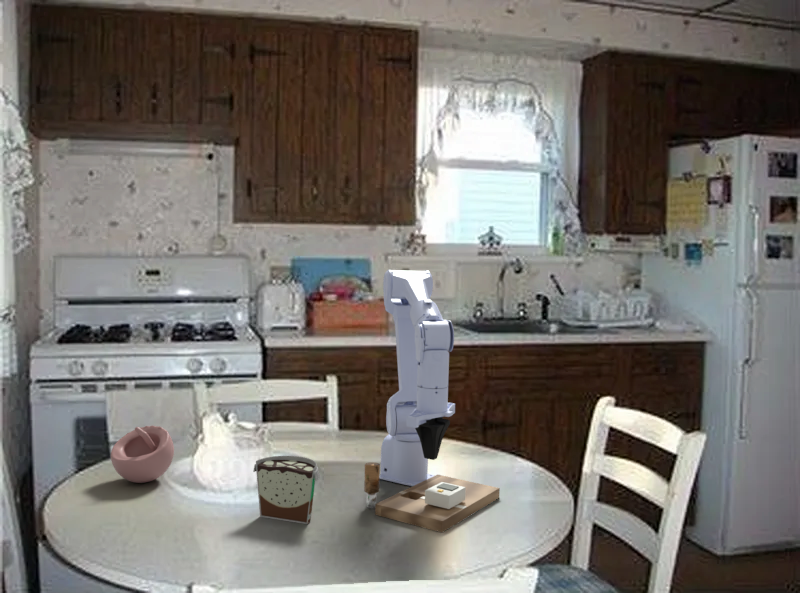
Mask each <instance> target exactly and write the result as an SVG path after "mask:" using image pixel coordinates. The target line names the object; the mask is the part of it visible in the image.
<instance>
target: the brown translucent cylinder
mask: <svg viewBox="0 0 800 593" xmlns="http://www.w3.org/2000/svg"><path fill="white" fill-rule="evenodd" d="M380 474H381V463H378V462H373V461H372V462H366V463H364V479H363V480H364V481H363V482H364V483H363V484H364V485H363V489H364V490H363V492H364V493H366V508H367V509H375V504H376V503H377V494H378V493H379V492H380V480H381V479H380Z"/></svg>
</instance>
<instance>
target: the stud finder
mask: <svg viewBox="0 0 800 593" xmlns="http://www.w3.org/2000/svg"><path fill="white" fill-rule="evenodd" d="M465 490H466V487H462V486H458V485H454V484H449V483H445V482H441V483H439V484H437V485H435V486H433V487H431V488H429V489H427V490H425V503H426V504H430V505H434V506H438V507H442V508H446V509H450V508H452V507H454V506H455V505H457V504H459V503H461V502H462V501H464V500H465Z"/></svg>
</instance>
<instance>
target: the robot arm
mask: <svg viewBox="0 0 800 593" xmlns="http://www.w3.org/2000/svg"><path fill="white" fill-rule="evenodd" d="M382 281H383V282H382V285H383V288H382V289H383V303H384V304H383V305H384V307H385V309H384V310H385V311H386V312H387V313H389V314H390V315H392V318H393V319H392V320H393V322H394V329H395V344H396V345H395V346H396V359H397V360H396V362H397V375H398V391H397V392H395V393H394V394H392V396H390V397H389V398H388V401H387V403H386V417H385V420H386V421H385V423H386V431H387V433H388V434H387V435H386V436H385V437H384V439H383V441H382V444H381V447H380V480H384V481H388V482H391V483H392V482H393V483H396V484H400V485H405V486H408V487H412V486H414V485H416V484H419V483H421V482H423V481H425V480H427V479H429V478H431V477H433V476H435V475H436V474H435V475H434V474H429V473H428V470H429V469H428V467H429V465H428V464H429V460H433V461H435V460H436V459H438V456H439V452H440V449H441V445H442V443H443V438H444V436H445V433H446V431H447V430H448V429H449V426H450V425H451V420H450V419H447V418H449V417H452V416H453V415H454V414H456V403H453V402H448V401H449V399H448V398H449V374H450V373H449V372H450V370H449V369H450V366H449V365H450V352H451V353H452V351H453V349H454V346H455V345H454V344H455V330H454V325H453V322H452V321H451V320H449V319H444V317H443V315H442V313H441V311H440V309H439V307H438V305H437V303H436V302H435V301H433V300H432V299H431V296H432V294H433V291H434V290H433V289H434V280H433V275H432V273H431V272H430V270H428V269H426V270H393V269H387V270H386V271H385V272H384V275H383V280H382ZM444 417H447V418H444Z"/></svg>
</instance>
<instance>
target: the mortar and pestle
mask: <svg viewBox="0 0 800 593" xmlns="http://www.w3.org/2000/svg"><path fill="white" fill-rule="evenodd" d="M174 446H175V445H174V442H173V439H172V437H171V435H170V434H169V432H168V430H167V429H165V428H164V427H162V426H158V425H157V426H155V425H144V426H142V427H139V426H136V427H135V428H134V429H133V430H132V431H130V432H127V433H126V434H125V435H124V436H122V437H121V438H119V439H118V440H117V441H116V443H114V445H113V447H112V448H111V450H110V451H111V452H110V460H111V461H110V462H111V464H112V467H113V468H114V470H115V471H116V473H117V474H118V475H119V476H121V478H123V479H124V480H126V481H129V482H132V483H135V484H137V483H139V484H142V483H144V484H145V483H149V482H152V481H155V480H157V479H159V478H160V477H161V476H162V475H164V474H165V473H166V472H167V471H168V469H170V466H171V464H172V463H173V460H174V455H175V447H174Z"/></svg>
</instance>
